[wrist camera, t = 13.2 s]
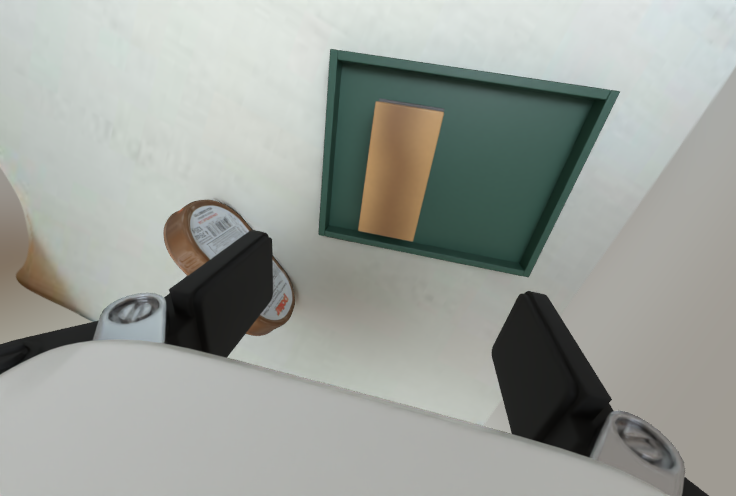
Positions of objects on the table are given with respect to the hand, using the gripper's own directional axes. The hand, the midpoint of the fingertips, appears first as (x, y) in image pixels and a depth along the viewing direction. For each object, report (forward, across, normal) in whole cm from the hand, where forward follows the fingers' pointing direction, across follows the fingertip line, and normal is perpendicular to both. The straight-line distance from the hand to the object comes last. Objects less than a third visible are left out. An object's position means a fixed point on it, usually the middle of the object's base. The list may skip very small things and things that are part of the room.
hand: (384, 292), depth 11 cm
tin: (+17, +15, +11) cm, 25 cm away
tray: (+18, -2, -1) cm, 18 cm away
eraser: (+17, +1, -1) cm, 17 cm away
